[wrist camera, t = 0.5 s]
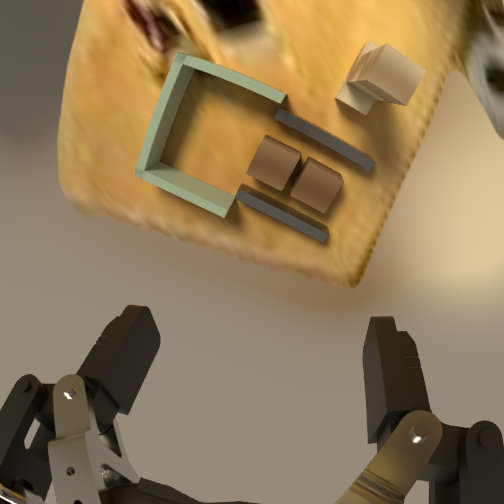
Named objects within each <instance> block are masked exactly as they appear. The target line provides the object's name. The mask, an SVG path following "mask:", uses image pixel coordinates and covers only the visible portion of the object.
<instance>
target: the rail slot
mask: <svg viewBox="0 0 504 504" xmlns="http://www.w3.org/2000/svg"><path fill="white" fill-rule="evenodd" d="M274 119H276V120H278V121H280V122H282V123H284V124H286V125H288V126H290V127H292V128H294V129H296V130H298V131H299V132H301V133H303V134H305V135H307V136H309V137H311V138H313V139H315V140H316V141H318V142H320V143H322V144H324V145H326V146H327V147H329V148H331V149H333V150H334V151H336V152H338V153H340V154H341V155H343V156H345V157H347V158H348V159H350V160H352V161H353V162H355V163H357V164H358V165H360V166H361V167H363V168H365V169H366V170H368V171H371V169H372V168H373V166H374V164H375V163H376V162H375V161H374V160H373V159H372V158H371V157H370V156H368V155H367V154H365V153H363V152H362V151H360V150H358V149H357V148H355V147H354V146H352V145H350V144H349V143H347V142H345V141H343V140H342V139H340V138H338V137H337V136H335V135H333V134H331V133H329V132H328V131H326V130H324V129H322V128H320V127H319V126H317V125H315V124H313V123H311V122H309V121H307V120H305V119H303V118H302V117H300V116H298V115H296V114H294V113H292V112H290V111H288V110H286V109H284V108H282V107H280V108H279V109H278V111H277V113H276V115H275V117H274ZM234 199H236V200H238V201H240V202H242V203H245V204H247V205H249V206H251V207H253V208H255V209H257V210H259V211H261V212H263V213H265V214H267V215H269V216H271V217H273V218H275V219H277V220H279V221H281V222H283V223H285V224H287V225H289V226H291V227H293V228H295V229H297V230H299V231H301V232H303V233H305V234H307V235H309V236H311V237H313V238H314V239H316V240H318V241H320V242H322V243H324V241H325V240H326V238H327V237H328V235H329V233H328V227H327V226H325V225H323V224H321V223H320V222H318V221H316V220H314V219H312V218H310V217H308V216H306V215H304V214H302V213H300V212H299V211H297V210H295V209H293V208H291V207H289V206H287V205H285V204H283V203H281V202H279V201H277V200H275V199H273V198H271V197H269V196H267V195H265V194H263V193H261V192H259V191H257V190H255V189H253V188H251V187H249V186H247V185H244V184H241V186H240V188H239V189H238V191H237V194H236V196H235V198H234Z"/></svg>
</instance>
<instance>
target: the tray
mask: <svg viewBox="0 0 504 504" xmlns="http://www.w3.org/2000/svg"><path fill="white" fill-rule="evenodd" d="M195 68H196V69H198V70H201V71H204V72H207V73H209V74H212V75H215V76H217V77H220V78H223V79H225V80H228V81H230V82H233V83H235V84H237V85H240V86H242V87H245V88H247V89H249V90H252V91H254V92H256V93H258V94H261V95H263V96H265V97H267V98H269V99H271V100H274V101H276V102H278V103H280V104H281V103H282V102H283V101H284V99H285V97H286V95H287V93H284V92H282V91H280V90H278V89H276V88H274V87H272V86H269V85H267V84H265V83H263V82H260V81H258V80H256V79H254V78H251V77H249V76H246V75H244V74H242V73H239V72H237V71H234V70H232V69H229V68H226V67H224V66H221V65H218V64H216V63H213V62H210V61H207V60H205V59H202V58H199V57H196V56H193V55H189V54H185V53H180V52H177V55H176V57H175V59H174V62H173V64H172V66H171V69H170V71H169V74H168V76H167V79H166V81H165V84H164V86H163V89H162V91H161V94H160V97H159V99H158V102H157V105H156V108H155V110H154V113H153V116H152V119H151V122H150V125H149V128H148V131H147V134H146V137H145V140H144V143H143V147H142V150H141V153H140V157H139V160H138V163H137V167H136V170H135V174H134V176H136V177H138V178H140V179H142V180H144V181H147V182H149V183H151V184H153V185H155V186H157V187H160V188H162V189H164V190H166V191H168V192H170V193H172V194H175V195H177V196H179V197H181V198H183V199H185V200H187V201H189V202H191V203H194V204H196V205H198V206H200V207H202V208H204V209H206V210H208V211H210V212H213V213H215V214H217V215H219V216H221V217H223V218H225V216H226V214H227V212H228V210H229V209H230V207H231V205H232V203H233V201H234V198H235V196H233V195H231V194H229V193H227V192H225V191H223V190H221V189H219V188H217V187H214V186H212V185H210V184H208V183H206V182H204V181H202V180H199V179H197V178H195V177H193V176H191V175H189V174H186V173H184V172H182V171H180V170H178V169H175V168H173V167H171V166H169V165H167V164H164V163H162V162H160V158H161V155H162V152H163V149H164V147H165V144H166V141H167V138H168V135H169V132H170V130H171V127H172V124H173V122H174V119H175V116H176V114H177V111H178V109H179V106H180V104H181V101H182V99H183V96H184V94H185V91H186V89H187V86H188V84H189V82H190V79H191V77H192V75H193V72H194V70H195Z"/></svg>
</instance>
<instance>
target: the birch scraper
mask: <svg viewBox="0 0 504 504" xmlns="http://www.w3.org/2000/svg"><path fill="white" fill-rule="evenodd" d="M425 71H426V70H424V69H423V68H422V67H420V66H419V65H418V64H416V63H415V62H414V61H412V60H411V59H409V58H408V57H407V56H405V55H404V54H402V53H401V52H399V51H398V50H396V49H395V48H393V47H392V46H390V45H389V44H385V45H383V46H380V47H379V46H377V45H375V44H374V43H372V42H370V41H369V42H367V43H366V44H364V46H363V47H362V49H361V51H360V53H359V55H358V56H357V58H356V60H355V62H354V63H353V65H352V67H351V69H350V71H349V72H348V74H347V76H346V78H345V80H344V81H343V83H342V85H341V87H340V89H339V90H338V92H337V94H336V96H335V98H336V99H338V100H340V101H341V102H343V103H345V104H347V105H348V106H350V107H352V108H353V109H355V110H357V111H358V112H360V113H362V114H364V115H367V113H368V112H369V110H370V108H371V106H372V105H373V103H374V101H375V100H380V101H385V102H390V103H395V104H399V105H404V106H406V105H407V104H408V102H409V100H410V98H411V97H412V95H413V93H414V91H415V90H416V88H417V86H418V84H419V82H420V80H421V79H422V77H423V75H424V73H425Z"/></svg>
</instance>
